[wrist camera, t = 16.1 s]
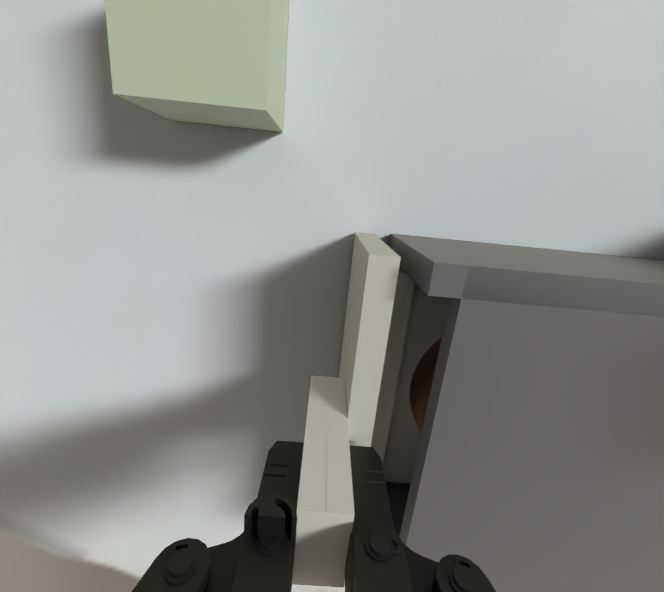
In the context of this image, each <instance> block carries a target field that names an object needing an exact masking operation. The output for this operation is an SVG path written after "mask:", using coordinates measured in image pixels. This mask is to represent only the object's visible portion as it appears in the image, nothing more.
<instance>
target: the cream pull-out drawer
mask: <svg viewBox="0 0 664 592" xmlns="http://www.w3.org/2000/svg"><path fill="white" fill-rule="evenodd" d="M400 260H401V257H400V256H399V255H398V254H397V253H395V252H394V251H393V250H392V249H391V248H390V247H389V246H388V245H387V244H385V243H384V242H383V241H382V240H381V239H380V238H379V237H378V236H377V235H374V234H364V233H355V239H354V248H353V256H352V265H351V273H350V282H349V291H348V299H347V308H346V316H345V325H344V334H343V342H342V351H341V359H340V368H339V378H344V380H345V393H346V406H347V420H348V433H349V445H352V446H365V447H374V449H375V450H376V452H377V453H378V455H379V456H380V458H381V461H382V466H383V474H384V477H385V482H398V483H411V480H412V475H413V470H414V466H415V461H416V456H417V452H418V447H419V442H420V438H421V434H420V432H419V429H418V426H417V424H416V421H415V418H414V416H413V413H412V410H411V405H410V396H409V394H410V384H411V380H412V376H413V374H414V371H415V368H416V366H417V365H418V363H419V361H420V359H421V358H422V357H423V355H424V354H425V352H426V351H427V350H428V349H429V348H430V347H431V346H432V345H433V344H434V343H435V342H436V341H437V340H438V339H440V338H441V337H442V335H443V330H444V325H445V321H446V316H447V311H448V307H449V302H450V298H448V297H438V296H428V295H427V294H426V293H425V292H424V291H423V290H422V289H421V288H420V287H419V286H418V285H417V284H416V283H415V281H414V280H413V279H412V278H411V277H410V276H409V275H408V274H407V273H406V272H405V271H404V270H403V269H402V268H401V267H400ZM344 584H345V580H344Z"/></svg>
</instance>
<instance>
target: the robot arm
mask: <svg viewBox="0 0 664 592" xmlns="http://www.w3.org/2000/svg"><path fill="white" fill-rule="evenodd" d="M344 580H345V592H496V591H495V589H494V587H493V586H492V584H491V583H490V581H489V579H488V578H487V576H486V575H485V574H484V573H483V571H482V570H481V569H480V568H479V566H477V565H476V564H475V563H473V562H472V561H471V560H470V559H468V558H465V557H463V556H460V555H454V554H448V555H447V556H445V557H443V558H441V559H440V561H439V563H438V562H436V561H433V560H431V559H429V558H426V557H424V556H421V555H419V554H417V553H415V552H414V551H412V550H411V549H409V548H408V547H407V546H406V545H405V544H404V543H403V542H402V541H401V539H400V538H399V536H398V535H397V533H396V531H395V527H394V524H393V519H392V514H391V508H390V503H389V498H388V493H387V487H386V484H385V477H384V474H383V466H382V461H381V458H380V456H379V455H378V453H377V452H376V450H375V449H374V447H365V446H352V445H349V433H348V420H347V406H346V393H345V380H344V378H339V377H326V376H314V375H311V381H310V391H309V400H308V409H307V419H306V428H305V437H304V443H300V442H287V441H276V443H275V444H274V445H273V446H272V448H271V449H270V450H269V452H268V456H267V460H266V465H265V468H264V472H263V477H262V481H261V485H260V489H259V493H258V497H257V499H256V500H254V501H253V502H252V503H251V504H250V505H249V507H248V509H247V511H246V513H245V520H244V532H243V533H242V534H241V535H240V536H238V537H237V538H235V539H234V540H232V541H229V542H227V543H224V544H220V545H217V546H213V547H209V548H207V546H206V544H204V543H203V542H201V541H200V540H198V539H191V538H186V539H183V540H179V541H176V542H174V543H173V544H171V545H169V546H168V547H166V548H165V549H164V550H163V551H162V552H161V553H160V554H159V555H158V556H157V557H156V559H155V560H154V562H153V563H152V564H151V566H150V567H149V569H148V570H147V571H146V573H145V574H144V575H143V577H142V578H141V580H140V581H139V582H138V584H137V585H136V587H135V588H134V589H133V591H132V592H291V587H292V584H298V585H314V586H330V587H344Z"/></svg>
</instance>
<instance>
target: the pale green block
mask: <svg viewBox="0 0 664 592" xmlns="http://www.w3.org/2000/svg"><path fill="white" fill-rule="evenodd" d="M104 1H105V12H106V23H107V34H108V45H109V56H110V68H111V79H112V90H113V94H115V95H117V96H119V97H121V98H123V99H125V100H128V101H130V102H132V103H134V104H136V105H139V106H141V107H143V108H145V109H147V110H149V111H152V112H154V113H156V114H158V115H160V116H162V117H165V118H167V119H169V120H174V121H183V122H193V123H202V124H212V125H221V126H230V127H240V128H249V129H258V130H268V131H277V132H283V122H284V101H285V80H286V58H287V37H288V16H289V0H104Z"/></svg>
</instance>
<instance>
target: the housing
mask: <svg viewBox="0 0 664 592" xmlns="http://www.w3.org/2000/svg"><path fill="white" fill-rule="evenodd" d="M389 247H390V248H391V249H392V250H393V251H394V252H395V253H397V254H398V255H399V256H400V257H401V260H400V267H401V268H402V269H403V270H404V271H405V272H406V273H407V274H408V275H409V276H410V277H411V278H412V279H413V280H414V281H415V283H416V284H417V285H418V286H419V287H420V288H421V289H422V290H423V291H424V292H425V293H426V294H427V295H428V296H438V297H448V298H450V302H449V307H448V311H447V316H446V321H445V325H444V330H443V335H442V339H441V344H440V349H439V353H438V358H437V363H436V367H435V372H434V377H433V381H432V386H431V391H430V395H429V400H428V405H427V409H426V414H425V419H424V424H423V428H422V433H421V438H420V442H419V447H418V452H417V456H416V461H415V466H414V470H413V475H412V480H411V483H398V482H385V484H386V487H387V493H388V498H389V503H390V508H391V514H392V519H393V524H394V527H395V531H396V533H397V535H398V536H399V538H400V539H401V541H402V542H403V543H404V544H405V545H406V546H407V547H408V548H409V549H411V550H412V551H414V552H415V553H417V554H419V555H421V556H424V557H426V558H429V559H431V560H433V561H436V562H438V563H439V561H440V559H441V558H443V557H445V556H447V555H448V554H454V555H460V556H463V557H465V558H468V559H470V560H471V561H472V562H473V563H475V564H476V565H477V566H479V568H480V569H481V570H482V571H483V573H484V574H485V575H486V576H487V578H488V579H489V581H490V583H491V584H492V586H493V587H494V589H495V591H496V592H664V260H654V259H644V258H633V257H623V256H613V255H603V254H592V253H582V252H572V251H562V250H551V249H541V248H531V247H521V246H511V245H500V244H490V243H480V242H470V241H459V240H449V239H439V238H429V237H418V236H408V235H398V234H391V238H390V245H389Z"/></svg>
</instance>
